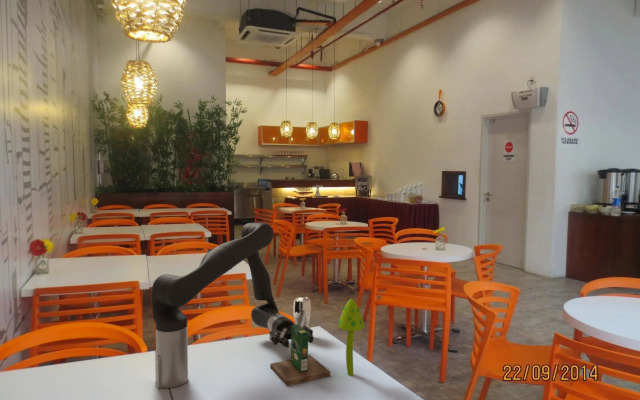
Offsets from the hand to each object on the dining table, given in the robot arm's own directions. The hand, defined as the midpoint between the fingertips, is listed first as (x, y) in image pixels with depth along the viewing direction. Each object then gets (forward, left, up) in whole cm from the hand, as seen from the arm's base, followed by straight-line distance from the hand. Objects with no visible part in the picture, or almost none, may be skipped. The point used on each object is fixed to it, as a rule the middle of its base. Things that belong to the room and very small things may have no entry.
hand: (300, 342), depth 141 cm
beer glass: (+14, +28, -10) cm, 33 cm away
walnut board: (0, 0, -10) cm, 10 cm away
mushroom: (+14, -9, -10) cm, 19 cm away
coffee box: (0, 0, -9) cm, 9 cm away
